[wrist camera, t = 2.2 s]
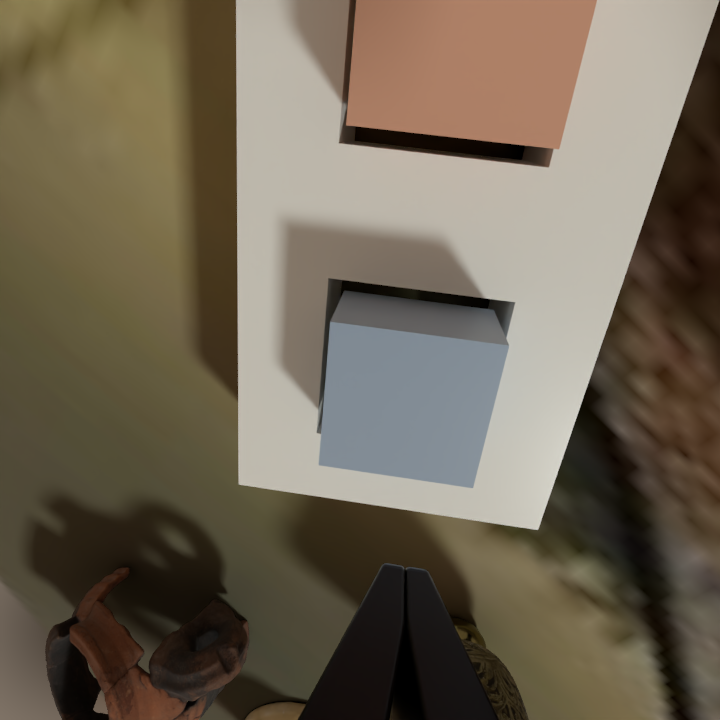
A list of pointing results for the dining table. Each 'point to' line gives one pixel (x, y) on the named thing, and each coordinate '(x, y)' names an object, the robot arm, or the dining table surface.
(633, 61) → the key panel
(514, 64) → the terracotta key
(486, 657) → the cup
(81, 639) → the pottery mug
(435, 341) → the blue key
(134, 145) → the dining table surface
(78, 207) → the dining table surface
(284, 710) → the hand bell
